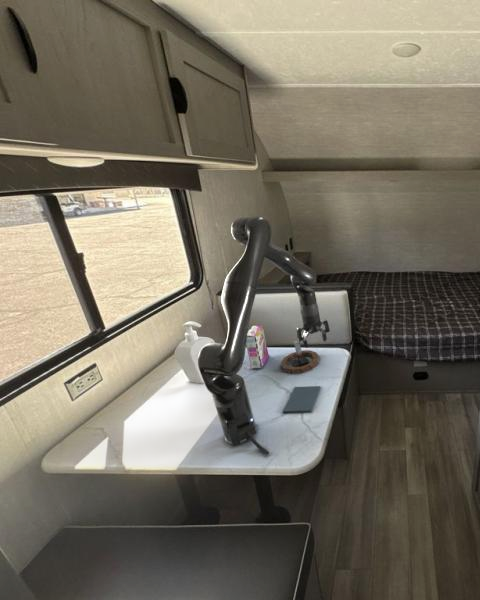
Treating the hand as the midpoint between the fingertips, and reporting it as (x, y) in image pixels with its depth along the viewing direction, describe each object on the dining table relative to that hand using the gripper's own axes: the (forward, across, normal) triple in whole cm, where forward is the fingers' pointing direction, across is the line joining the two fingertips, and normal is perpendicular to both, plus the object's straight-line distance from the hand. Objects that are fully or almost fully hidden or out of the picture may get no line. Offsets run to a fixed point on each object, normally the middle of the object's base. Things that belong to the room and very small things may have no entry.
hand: (315, 343), depth 143 cm
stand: (+7, -8, 0) cm, 11 cm away
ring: (+7, -8, 0) cm, 11 cm away
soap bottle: (+6, -45, +14) cm, 48 cm away
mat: (+6, -15, -26) cm, 31 cm away
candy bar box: (+7, -23, +12) cm, 27 cm away
